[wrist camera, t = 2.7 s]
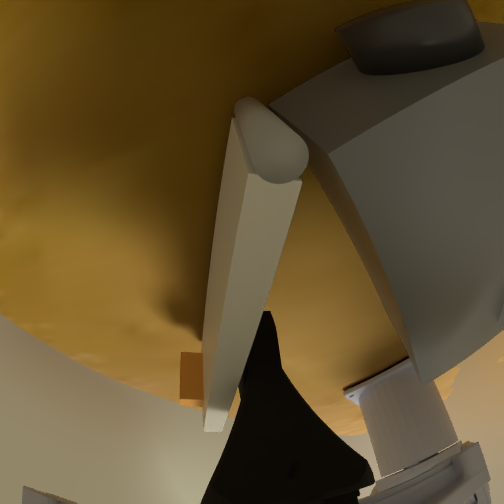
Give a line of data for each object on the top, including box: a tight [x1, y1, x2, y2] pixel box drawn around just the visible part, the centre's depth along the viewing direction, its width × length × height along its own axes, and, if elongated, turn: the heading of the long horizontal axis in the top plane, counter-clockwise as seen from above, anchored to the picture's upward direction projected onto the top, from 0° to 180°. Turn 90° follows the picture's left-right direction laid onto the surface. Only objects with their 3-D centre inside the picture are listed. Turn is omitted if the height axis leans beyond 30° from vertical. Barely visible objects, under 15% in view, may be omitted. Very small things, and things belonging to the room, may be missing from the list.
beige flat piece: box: [180, 96, 309, 432], centre depth 9 cm, size 12×2×4 cm, turn 169°
